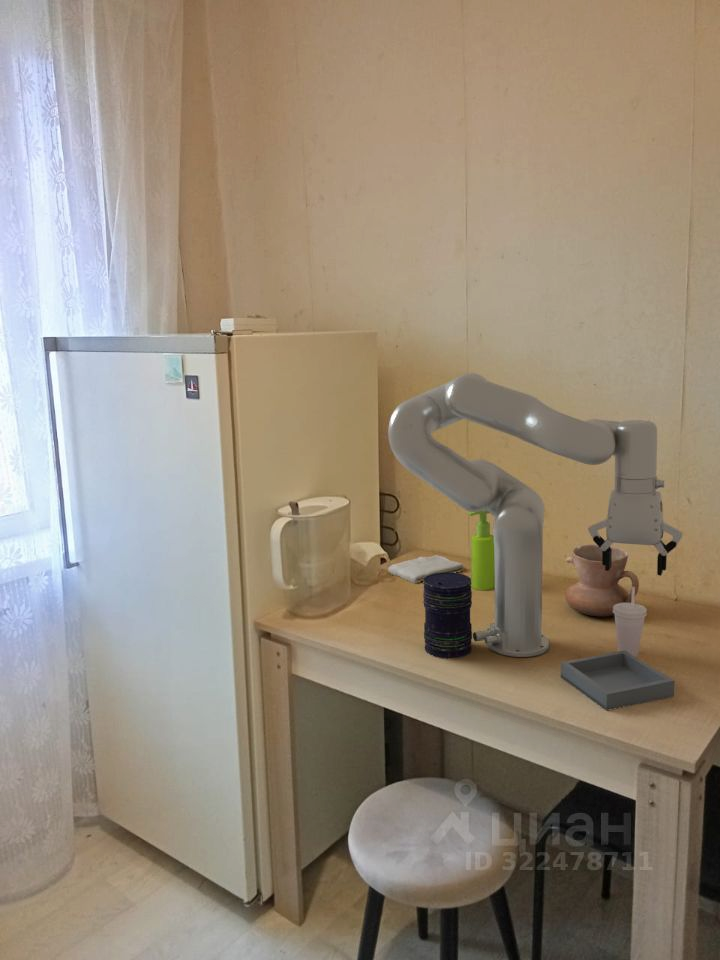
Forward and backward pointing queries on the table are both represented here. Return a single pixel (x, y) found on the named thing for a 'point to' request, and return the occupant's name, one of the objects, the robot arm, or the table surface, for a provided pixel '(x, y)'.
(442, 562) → the washcloth
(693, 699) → the table surface
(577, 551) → the ceramic jug
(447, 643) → the storage jar
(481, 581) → the soap dispenser
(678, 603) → the table surface
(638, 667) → the tray
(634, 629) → the smoothie
